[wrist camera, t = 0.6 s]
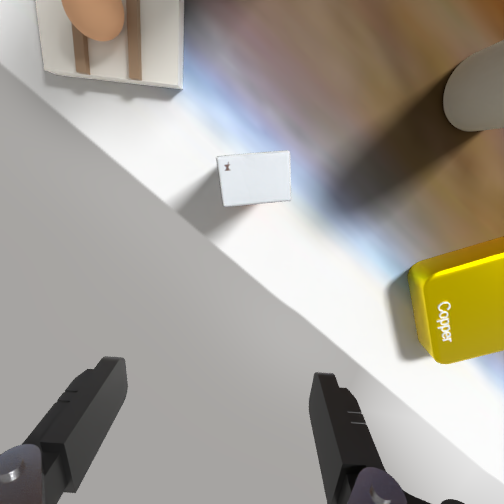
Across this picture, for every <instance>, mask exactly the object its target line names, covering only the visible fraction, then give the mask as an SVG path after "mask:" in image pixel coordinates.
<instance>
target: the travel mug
mask: <svg viewBox="0 0 504 504" xmlns="http://www.w3.org/2000/svg"><path fill="white" fill-rule="evenodd" d="M443 106H444V111H445V114H446V117H447V118H448V120H449V121H450V123H451V124H452V125H453V126H455V127H456V128H458V129H460V130H463V131H481V130H490V129H498V128H504V40H502V41H500V42H498V43H496V44H494V45H492V46H490V47H487V48H485V49H483V50H481V51H479V52H477V53H475V54H473V55H471V56H469V57H468V58H466V59H465V60H464V61H462V62H461V63H460V64H459V65H458V66H457V68H456V69H455V70H454V71H453V73H452V74H451V76H450V78H449V80H448V82H447V85H446V87H445V91H444V97H443Z"/></svg>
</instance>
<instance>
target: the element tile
mask: <svg viewBox="0 0 504 504" xmlns="http://www.w3.org/2000/svg"><path fill="white" fill-rule="evenodd" d="M408 283H409V289H410V295H411V300H412V306H413V312H414V318H415V323H416V329H417V335H418V340H419V342H420V343H421V345H422V346H423V347H424V348H425V349H426V350H427V351H428V353H429V354H430V355H431V356H432V357H433V358H434V359H435V361H436V362H438V363H440V364H451V363H455V362H459V361H463V360H467V359H471V358H475V357H479V356H483V355H487V354H491V353H495V352H499V351H503V350H504V236H503V237H500V238H496V239H493V240H489V241H486V242H483V243H479V244H476V245H473V246H469V247H466V248H463V249H459V250H456V251H452V252H449V253H446V254H442V255H439V256H436V257H432V258H429V259H425V260H422V261H420V262H417V263H416V264H414V265H413V266H412V267H411V268H410V270H409V273H408Z"/></svg>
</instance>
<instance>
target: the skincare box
mask: <svg viewBox="0 0 504 504" xmlns="http://www.w3.org/2000/svg"><path fill="white" fill-rule="evenodd" d="M216 160H217V166H218V173H219V181H220V188H221V195H222V202H223V206H224V207H228V206H243V205H252V204H261V203H272V202H282V201H291V166H290V151H287V150H286V151H273V152H260V153H249V154H237V155H225V156H218V157H217V158H216Z"/></svg>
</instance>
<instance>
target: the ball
mask: <svg viewBox="0 0 504 504" xmlns="http://www.w3.org/2000/svg"><path fill="white" fill-rule="evenodd" d="M61 1H62V5H63V8H64V10H65V12H66V15H67V16H68V18H69V20H70V21H71V22H72V24H73V25H74V26H75V27H76V28H77V29H78V30H79V31H80V32H81V33H82V34H84V35H85V36H87V37H89V38H91V39H93V40H97V41H109V40H112V39H114V38H115V37H117V36H118V35H119V33H120V32H121V30H122V28H123V25H124V8H123V4H122V1H121V0H61Z"/></svg>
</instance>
